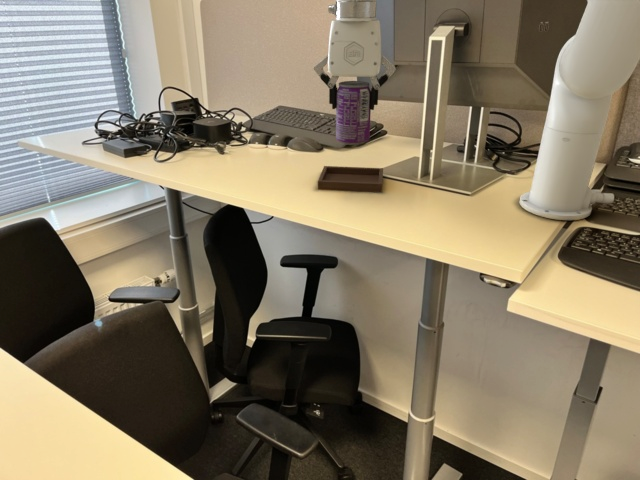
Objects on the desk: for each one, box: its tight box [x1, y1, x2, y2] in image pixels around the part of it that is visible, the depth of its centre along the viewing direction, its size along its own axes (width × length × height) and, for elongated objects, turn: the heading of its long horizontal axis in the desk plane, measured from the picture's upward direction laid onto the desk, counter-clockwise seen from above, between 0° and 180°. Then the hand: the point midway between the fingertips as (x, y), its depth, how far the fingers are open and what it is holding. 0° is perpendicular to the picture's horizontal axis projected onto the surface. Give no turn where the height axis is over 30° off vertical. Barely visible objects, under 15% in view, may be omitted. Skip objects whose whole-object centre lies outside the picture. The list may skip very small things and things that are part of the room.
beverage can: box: [335, 80, 372, 146], centre depth 96 cm, size 7×7×12 cm
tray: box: [317, 165, 384, 193], centre depth 103 cm, size 14×10×2 cm
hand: (353, 107), depth 96 cm, fingers closed on beverage can, 7 cm apart
